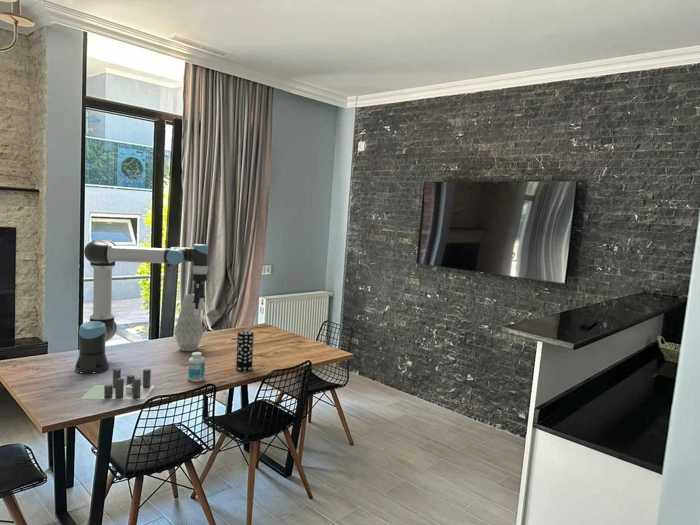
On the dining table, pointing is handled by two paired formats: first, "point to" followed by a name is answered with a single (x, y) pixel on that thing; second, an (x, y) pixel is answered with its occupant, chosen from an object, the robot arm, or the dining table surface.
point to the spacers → (119, 384)
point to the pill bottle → (196, 367)
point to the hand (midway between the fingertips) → (198, 312)
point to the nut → (129, 389)
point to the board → (98, 393)
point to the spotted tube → (244, 351)
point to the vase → (188, 326)
